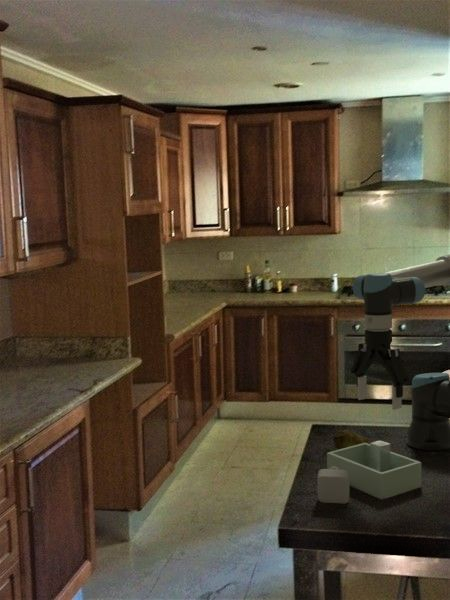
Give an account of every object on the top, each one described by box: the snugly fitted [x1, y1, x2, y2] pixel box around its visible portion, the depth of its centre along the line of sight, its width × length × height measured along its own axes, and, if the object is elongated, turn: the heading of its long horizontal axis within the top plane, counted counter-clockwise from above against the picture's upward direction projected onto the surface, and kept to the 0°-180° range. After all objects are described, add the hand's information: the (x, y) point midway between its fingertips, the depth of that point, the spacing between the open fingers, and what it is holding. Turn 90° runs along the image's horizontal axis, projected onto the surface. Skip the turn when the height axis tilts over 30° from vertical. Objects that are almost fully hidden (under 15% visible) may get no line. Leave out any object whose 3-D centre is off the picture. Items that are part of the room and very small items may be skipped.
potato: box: [332, 429, 374, 450], centre depth 228 cm, size 8×13×8 cm, turn 82°
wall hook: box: [316, 466, 350, 504], centre depth 196 cm, size 8×10×10 cm
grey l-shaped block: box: [370, 440, 391, 472], centre depth 205 cm, size 10×4×10 cm, turn 123°
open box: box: [326, 443, 422, 500], centre depth 206 cm, size 15×22×7 cm
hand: (379, 403), depth 205 cm, fingers open, 13 cm apart
